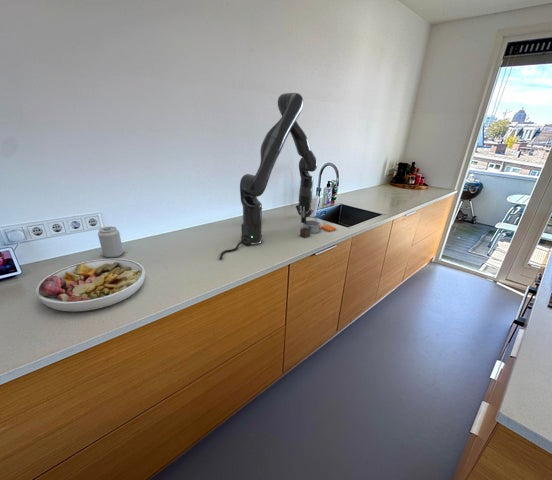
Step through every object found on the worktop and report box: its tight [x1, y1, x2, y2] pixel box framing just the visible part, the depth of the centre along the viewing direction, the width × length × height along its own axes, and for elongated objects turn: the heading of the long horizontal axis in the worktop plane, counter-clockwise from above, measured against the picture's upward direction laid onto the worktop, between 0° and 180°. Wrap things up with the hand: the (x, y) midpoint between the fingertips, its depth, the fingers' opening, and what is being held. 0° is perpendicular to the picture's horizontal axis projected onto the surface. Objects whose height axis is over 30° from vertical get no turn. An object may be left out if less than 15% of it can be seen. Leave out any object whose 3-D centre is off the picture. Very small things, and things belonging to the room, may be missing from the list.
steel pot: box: [302, 219, 321, 234], centre depth 168 cm, size 10×10×5 cm
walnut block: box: [299, 227, 311, 239], centre depth 159 cm, size 4×4×4 cm
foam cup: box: [308, 194, 321, 218], centre depth 193 cm, size 10×9×13 cm
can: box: [97, 226, 124, 259], centre depth 121 cm, size 8×8×12 cm
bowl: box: [35, 258, 146, 312], centre depth 97 cm, size 30×30×8 cm
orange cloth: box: [320, 224, 337, 233], centre depth 172 cm, size 6×7×1 cm
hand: (303, 222), depth 172 cm, fingers closed
